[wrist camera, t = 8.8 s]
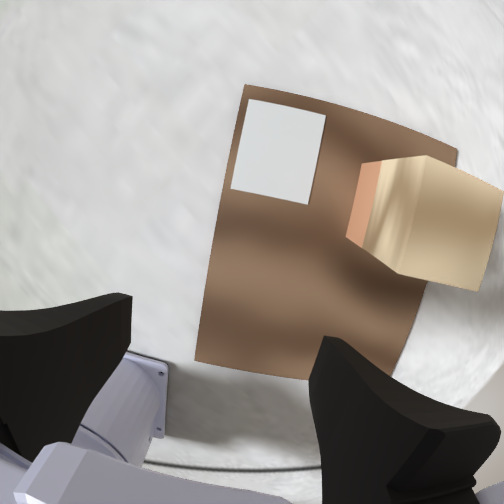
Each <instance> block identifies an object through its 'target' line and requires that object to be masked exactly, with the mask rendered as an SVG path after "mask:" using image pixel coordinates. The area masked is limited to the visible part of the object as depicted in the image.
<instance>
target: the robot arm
mask: <svg viewBox="0 0 504 504" xmlns="http://www.w3.org/2000/svg"><path fill="white" fill-rule="evenodd" d="M132 297H133V296H130V295H126V294H122V293H111V294H106V295H102V296H98V297H95V298H91V299H87V300H84V301H80V302H76V303H71V304H67V305H62V306H58V307H53V308H46V309H38V310H26V311H0V504H292V503H290V502H289V501H287V500H286V499H284V498H282V497H279V496H274V495H269V494H264V493H260V492H256V491H251V490H245V489H237V488H230V487H224V486H218V485H212V484H207V483H202V482H197V481H192V480H187V479H183V478H179V477H175V476H171V475H167V474H163V473H159V472H156V471H152V470H149V469H145V468H142V464H143V461H144V459H145V456H146V454H147V451H148V449H149V446H150V443H151V441H152V438H153V437H156V438H160V439H162V438H164V435H165V415H166V397H167V382H168V369H169V368H168V365H167V364H166V363H164V362H161V361H157V360H153V359H149V358H146V357H142V356H139V355H135V354H132V353H129V352H126V351H127V349H128V347H129V345H130V343H131V317H132ZM160 372H163V373H164V374H161V373H160ZM309 398H310V405H311V410H312V414H313V419H314V424H315V428H316V433H317V438H318V443H319V448H320V455H321V469H322V504H504V481H502V482H499V483H497V484H494V485H492V486H489V487H487V488H484V489H482V490H480V491H479V492H478V493H476V494H474V491H473V490H472V487H474V486H475V485H476V480H475V478H474V476H473V475H474V474H475V472H476V471H477V470H478V469H479V468H480V467H481V466H482V464H483V463H484V462H485V461H486V460H487V458H488V457H489V456H490V455H491V453H492V452H493V451H494V449H495V448H496V446H497V444H498V442H499V439H500V435H501V430H500V427H499V426H498V424H497V423H496V422H495V420H494V419H493V418H492V417H491V416H490V415H488V414H482V413H477V412H472V411H468V410H463V409H459V408H456V407H453V406H450V405H447V404H444V403H441V402H438V401H436V400H433V399H431V398H429V397H427V396H424V395H422V394H420V393H418V392H416V391H414V390H412V389H410V388H408V387H407V386H405V385H403V384H402V383H400V382H398V381H397V380H395V379H393V378H392V377H390V376H389V375H388V374H386V373H385V372H383V371H382V370H381V369H379V368H378V367H377V366H375V365H374V364H373V363H371V362H370V361H369V360H368V359H366V358H365V357H364V356H363V355H361V354H360V353H359V352H358V351H357V350H355V349H354V348H353V347H352V346H350V345H349V344H348V343H347V342H345V341H344V340H342V339H341V338H338V337H331V336H324V337H323V340H322V342H321V345H320V348H319V351H318V354H317V357H316V360H315V363H314V365H313V368H312V371H311V374H310V376H309ZM158 427H159V428H158Z"/></svg>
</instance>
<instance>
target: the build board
mask: <svg viewBox="0 0 504 504" xmlns="http://www.w3.org/2000/svg"><path fill="white" fill-rule="evenodd" d="M456 154H457V149H456V148H454V147H452V146H450V145H447V144H445V143H443V142H441V141H438V140H436V139H434V138H431V137H429V136H427V135H424V134H422V133H419V132H417V131H414V130H412V129H409V128H407V127H404V126H401V125H399V124H396V123H393V122H390V121H387V120H385V119H382V118H379V117H376V116H373V115H370V114H367V113H364V112H360V111H357V110H354V109H351V108H347V107H344V106H340V105H337V104H333V103H330V102H326V101H322V100H318V99H314V98H310V97H306V96H302V95H297V94H293V93H288V92H284V91H279V90H274V89H269V88H263V87H258V86H252V85H246V84H245V85H244V89H243V94H242V98H241V103H240V107H239V112H238V116H237V121H236V125H235V130H234V135H233V139H232V144H231V149H230V154H229V159H228V164H227V169H226V174H225V179H224V184H223V189H222V194H221V200H220V205H219V210H218V216H217V221H216V227H215V232H214V238H213V244H212V249H211V255H210V261H209V267H208V273H207V279H206V285H205V291H204V298H203V304H202V311H201V317H200V324H199V331H198V338H197V345H196V352H195V359H194V361H198V362H203V363H207V364H212V365H217V366H222V367H227V368H232V369H237V370H243V371H248V372H254V373H260V374H266V375H273V376H279V377H286V378H294V379H301V380H309V376H310V374H311V371H312V368H313V365H314V363H315V360H316V357H317V354H318V351H319V348H320V345H321V342H322V340H323V337H324V336H331V337H338V338H341V339H342V340H344V341H345V342H347V343H348V344H349V345H350V346H352V347H353V348H354V349H355V350H357V351H358V352H359V353H360V354H361V355H363V356H364V357H365V358H366V359H368V360H369V361H370V362H371V363H373V364H374V365H375V366H377V367H378V368H379V369H381V370H382V371H383V372H385V373H386V374H388V375H389V376H390V375H391V373H392V371H393V368H394V366H395V364H396V362H397V360H398V357H399V355H400V353H401V351H402V348H403V346H404V343H405V341H406V339H407V336H408V334H409V331H410V329H411V326H412V324H413V321H414V318H415V316H416V313H417V310H418V308H419V305H420V302H421V299H422V296H423V293H424V290H425V287H426V284H427V281H428V280H423V279H419V278H414V277H410V276H405V275H401V274H398V273H396V272H395V271H394V270H392V269H391V268H389V267H388V266H387V265H385V264H384V263H383V262H381V261H380V260H378V259H377V258H376V257H374V256H373V255H372V254H370V253H369V252H367V251H366V250H364V249H363V248H361V247H359V246H358V245H357V244H355V243H354V242H352V241H351V240H349V239H348V238H347V237H346V233H347V229H348V225H349V221H350V216H351V212H352V208H353V203H354V199H355V194H356V190H357V185H358V180H359V175H360V170H361V165H362V163H369V162H377V161H382V160H390V159H398V158H406V157H415V156H424V155H427V156H430V157H432V158H434V159H437V160H439V161H441V162H444V163H446V164H448V165H451V166H453V167H455V161H456Z"/></svg>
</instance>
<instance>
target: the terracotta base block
mask: <svg viewBox="0 0 504 504" xmlns="http://www.w3.org/2000/svg"><path fill="white" fill-rule="evenodd" d="M381 163H382V161H377V162H369V163H362V165H361V170H360V175H359V180H358V185H357V190H356V194H355V199H354V203H353V208H352V212H351V216H350V221H349V225H348V229H347V233H346V237H347V238H348V239H349V240H351V241H352V242H354V243H355V244H357V245H358V246H359V247H361V248H362V245H363V241H364V237H365V234H366V230H367V226H368V222H369V218H370V214H371V209H372V205H373V201H374V196H375V192H376V187H377V183H378V178H379V173H380V168H381Z"/></svg>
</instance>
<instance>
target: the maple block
mask: <svg viewBox="0 0 504 504" xmlns="http://www.w3.org/2000/svg"><path fill="white" fill-rule="evenodd" d="M503 194H504V191H502V190H500V189H498V188H496V187H494V186H492V185H490V184H488V183H486V182H484V181H482V180H480V179H478V178H476V177H474V176H472V175H470V174H468V173H466V172H464V171H462V170H459V169H457V168H455V167H453V166H451V165H448V164H446V163H444V162H441V161H439V160H437V159H434V158H432V157H430V156H427V155H424V156H415V157H406V158H398V159H390V160H382V163H381V168H380V173H379V178H378V183H377V187H376V192H375V196H374V201H373V205H372V209H371V214H370V218H369V222H368V226H367V230H366V234H365V237H364V241H363V245H362V248H363V249H364V250H366V251H367V252H369V253H370V254H372V255H373V256H374V257H376V258H377V259H378V260H380V261H381V262H383V263H384V264H385V265H387V266H388V267H389V268H391V269H392V270H394V271H395V272H396V273H398V274H401V275H405V276H410V277H414V278H419V279H423V280H428V281H432V282H437V283H441V284H446V285H450V286H454V287H459V288H463V289H467V290H472V291H476V292H478V291H479V288H480V285H481V282H482V279H483V276H484V273H485V270H486V266H487V263H488V260H489V256H490V252H491V249H492V245H493V241H494V237H495V233H496V229H497V224H498V220H499V215H500V210H501V205H502V199H503Z"/></svg>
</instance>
